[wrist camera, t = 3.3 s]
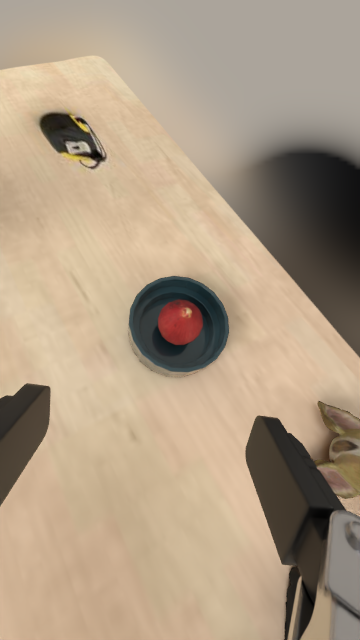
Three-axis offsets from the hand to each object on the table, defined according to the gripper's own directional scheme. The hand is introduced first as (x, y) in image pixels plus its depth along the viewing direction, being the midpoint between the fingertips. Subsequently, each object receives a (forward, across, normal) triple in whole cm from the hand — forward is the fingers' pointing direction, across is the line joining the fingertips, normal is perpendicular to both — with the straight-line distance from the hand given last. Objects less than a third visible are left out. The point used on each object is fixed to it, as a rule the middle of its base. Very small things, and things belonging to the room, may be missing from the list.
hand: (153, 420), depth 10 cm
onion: (+26, -2, +5) cm, 26 cm away
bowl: (+26, -2, +5) cm, 27 cm away
